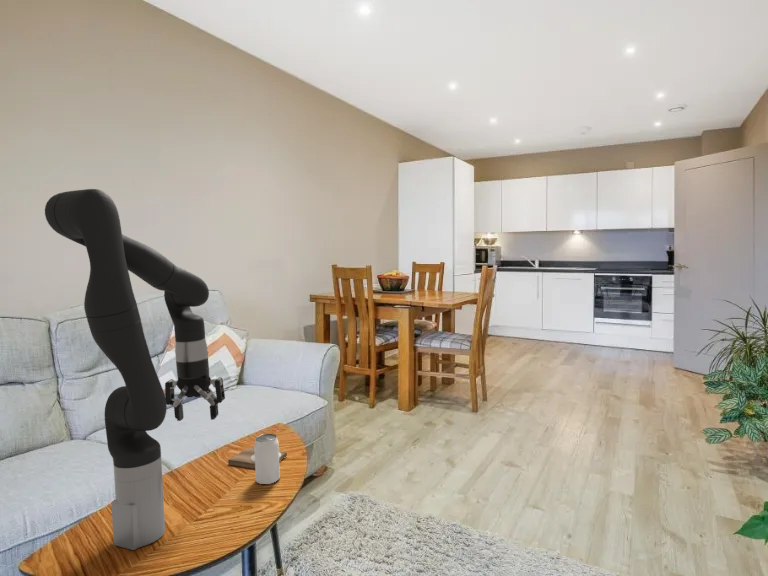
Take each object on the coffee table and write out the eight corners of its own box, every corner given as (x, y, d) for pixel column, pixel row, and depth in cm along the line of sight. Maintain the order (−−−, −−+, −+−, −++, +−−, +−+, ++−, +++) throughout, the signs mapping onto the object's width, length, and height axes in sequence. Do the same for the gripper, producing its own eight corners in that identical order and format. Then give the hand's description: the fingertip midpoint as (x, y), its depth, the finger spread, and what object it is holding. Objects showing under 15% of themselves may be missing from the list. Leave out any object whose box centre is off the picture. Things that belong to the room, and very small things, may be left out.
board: (268, 470, 134) (268, 464, 134) (228, 464, 140) (228, 458, 140) (288, 457, 144) (287, 451, 144) (249, 451, 149) (249, 446, 149)
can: (270, 487, 124) (268, 442, 124) (250, 483, 127) (248, 439, 126) (284, 476, 130) (283, 434, 129) (266, 473, 133) (264, 431, 132)
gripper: (156, 362, 114) (162, 426, 116) (214, 359, 114) (219, 423, 115) (170, 354, 121) (176, 415, 123) (225, 352, 121) (229, 412, 123)
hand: (197, 419), depth 119 cm, fingers open, 8 cm apart
